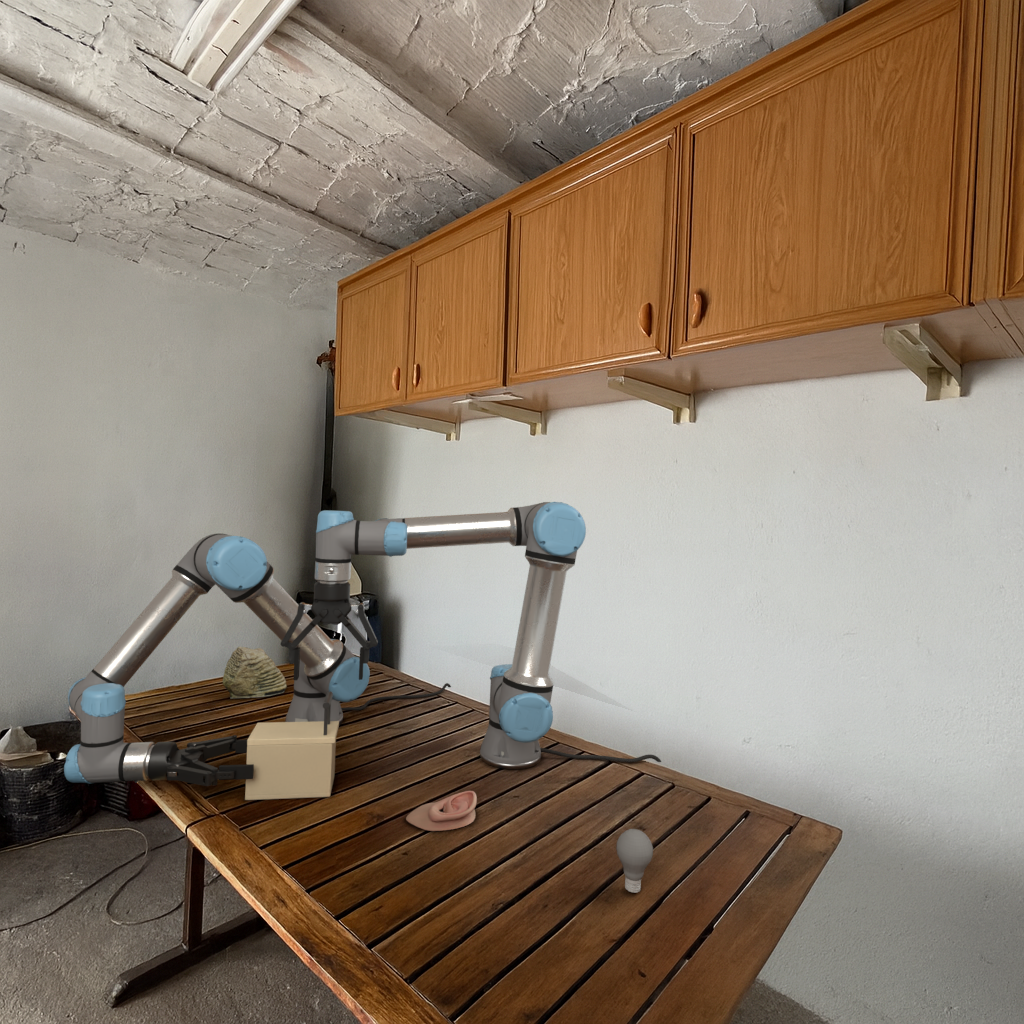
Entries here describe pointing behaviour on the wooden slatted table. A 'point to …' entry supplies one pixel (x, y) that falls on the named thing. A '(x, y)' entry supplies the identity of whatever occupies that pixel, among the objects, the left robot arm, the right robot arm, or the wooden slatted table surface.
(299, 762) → the chest
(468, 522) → the right robot arm
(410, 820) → the anatomical model
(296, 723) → the lid
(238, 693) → the fossil
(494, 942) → the wooden slatted table surface
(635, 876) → the light bulb
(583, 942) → the wooden slatted table surface
